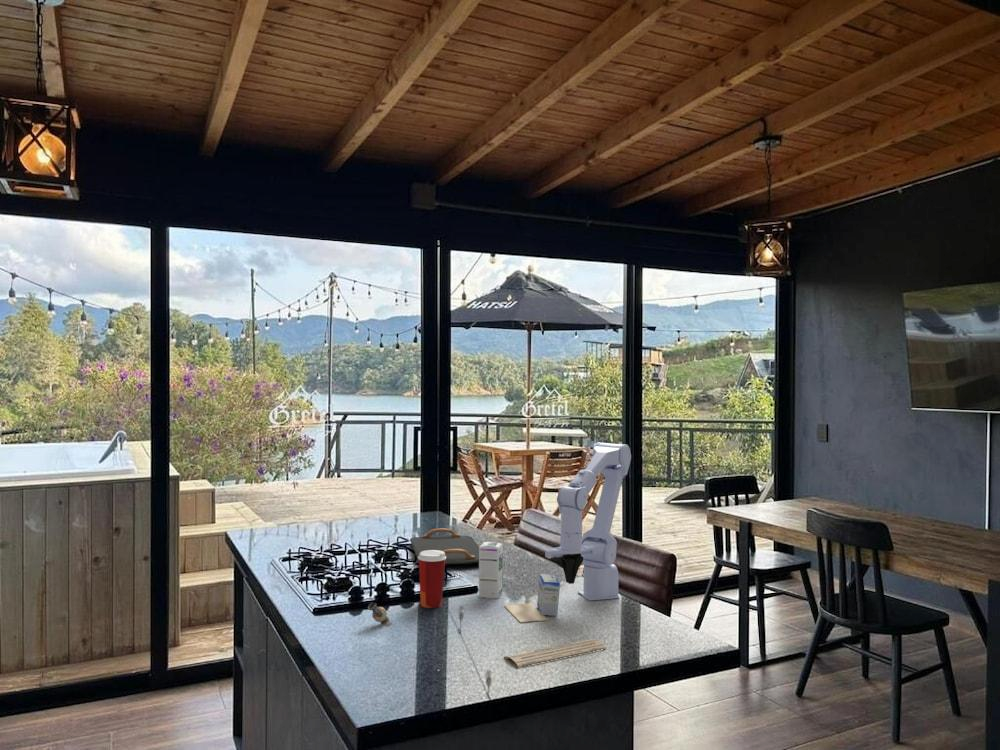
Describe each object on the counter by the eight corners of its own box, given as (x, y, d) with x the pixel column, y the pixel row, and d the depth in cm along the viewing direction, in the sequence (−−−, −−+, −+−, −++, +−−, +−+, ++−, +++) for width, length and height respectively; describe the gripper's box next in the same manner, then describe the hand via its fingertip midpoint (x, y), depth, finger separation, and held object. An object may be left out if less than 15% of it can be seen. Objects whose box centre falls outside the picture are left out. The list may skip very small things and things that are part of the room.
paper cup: (450, 602, 193) (451, 551, 193) (436, 611, 186) (437, 557, 186) (425, 598, 196) (426, 548, 196) (411, 606, 189) (412, 554, 189)
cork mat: (530, 604, 193) (530, 603, 193) (548, 620, 181) (548, 619, 181) (504, 606, 191) (504, 605, 191) (520, 623, 178) (520, 621, 178)
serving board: (490, 570, 228) (491, 550, 228) (418, 573, 223) (419, 553, 223) (469, 541, 266) (470, 525, 266) (408, 543, 261) (408, 526, 261)
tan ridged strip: (517, 671, 151) (517, 663, 151) (501, 659, 157) (501, 651, 157) (606, 652, 162) (606, 644, 162) (587, 642, 169) (587, 634, 169)
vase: (371, 631, 171) (371, 605, 172) (364, 625, 176) (364, 601, 176) (392, 627, 174) (392, 602, 174) (385, 622, 178) (384, 597, 179)
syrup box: (498, 599, 197) (499, 547, 197) (477, 597, 198) (478, 545, 198) (502, 593, 203) (503, 542, 203) (482, 591, 204) (483, 541, 204)
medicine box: (536, 605, 191) (539, 573, 192) (553, 606, 192) (555, 574, 192) (540, 615, 184) (543, 581, 184) (557, 616, 184) (560, 582, 184)
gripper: (586, 526, 196) (585, 576, 196) (540, 530, 190) (539, 581, 190) (600, 532, 190) (599, 583, 190) (553, 536, 184) (551, 588, 184)
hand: (570, 582), depth 190 cm, fingers closed
